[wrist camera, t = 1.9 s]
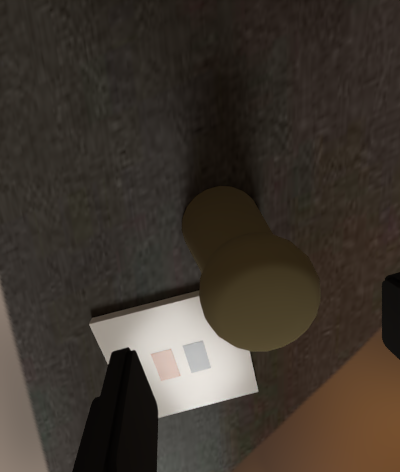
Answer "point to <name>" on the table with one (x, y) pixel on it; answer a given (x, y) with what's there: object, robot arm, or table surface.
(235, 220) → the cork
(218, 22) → the table surface
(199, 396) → the tile
